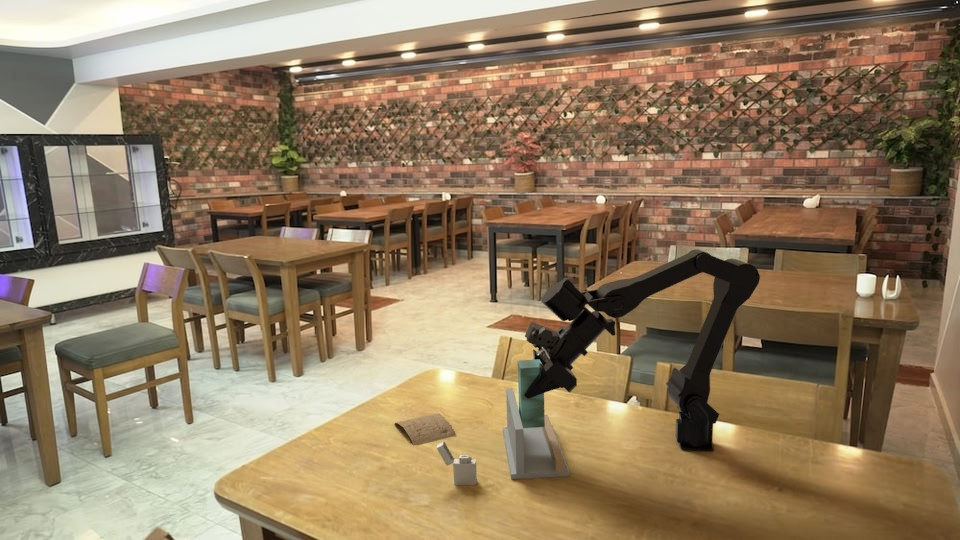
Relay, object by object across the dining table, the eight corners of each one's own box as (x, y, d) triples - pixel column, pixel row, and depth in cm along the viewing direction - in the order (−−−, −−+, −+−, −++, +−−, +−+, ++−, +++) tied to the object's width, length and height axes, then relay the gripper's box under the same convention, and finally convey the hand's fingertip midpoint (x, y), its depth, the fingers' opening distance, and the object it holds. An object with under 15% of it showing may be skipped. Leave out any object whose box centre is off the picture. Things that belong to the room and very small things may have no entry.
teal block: (541, 417, 125) (539, 359, 122) (544, 426, 120) (543, 366, 118) (519, 418, 125) (517, 360, 122) (522, 428, 120) (520, 368, 118)
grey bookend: (552, 429, 135) (551, 386, 133) (569, 476, 115) (568, 426, 113) (502, 431, 134) (501, 388, 132) (511, 479, 115) (509, 429, 113)
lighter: (476, 479, 115) (475, 440, 113) (476, 484, 113) (474, 445, 112) (439, 479, 115) (437, 440, 114) (438, 484, 114) (436, 444, 112)
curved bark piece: (458, 439, 133) (457, 427, 132) (415, 450, 128) (414, 438, 128) (432, 415, 145) (431, 405, 145) (391, 425, 141) (391, 414, 140)
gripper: (541, 298, 127) (490, 351, 129) (558, 322, 109) (499, 384, 111) (578, 332, 129) (528, 384, 131) (601, 361, 111) (543, 421, 113)
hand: (524, 392), depth 121 cm, fingers closed on teal block, 4 cm apart
